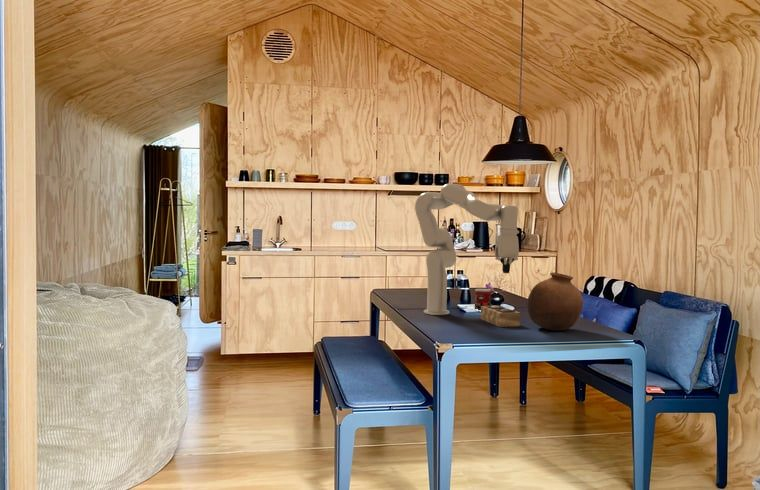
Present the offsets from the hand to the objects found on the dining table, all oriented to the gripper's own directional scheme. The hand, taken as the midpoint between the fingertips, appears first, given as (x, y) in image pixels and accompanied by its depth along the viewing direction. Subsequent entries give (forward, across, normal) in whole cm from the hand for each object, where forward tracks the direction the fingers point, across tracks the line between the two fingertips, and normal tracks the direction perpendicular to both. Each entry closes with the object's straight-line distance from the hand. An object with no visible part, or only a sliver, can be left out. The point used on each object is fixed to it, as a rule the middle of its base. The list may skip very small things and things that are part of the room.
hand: (505, 272), depth 278 cm
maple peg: (+23, +1, -6) cm, 24 cm away
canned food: (+24, -4, -32) cm, 40 cm away
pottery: (+23, -16, +18) cm, 33 cm away
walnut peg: (+23, +1, +3) cm, 23 cm away
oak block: (+23, +1, -2) cm, 23 cm away
